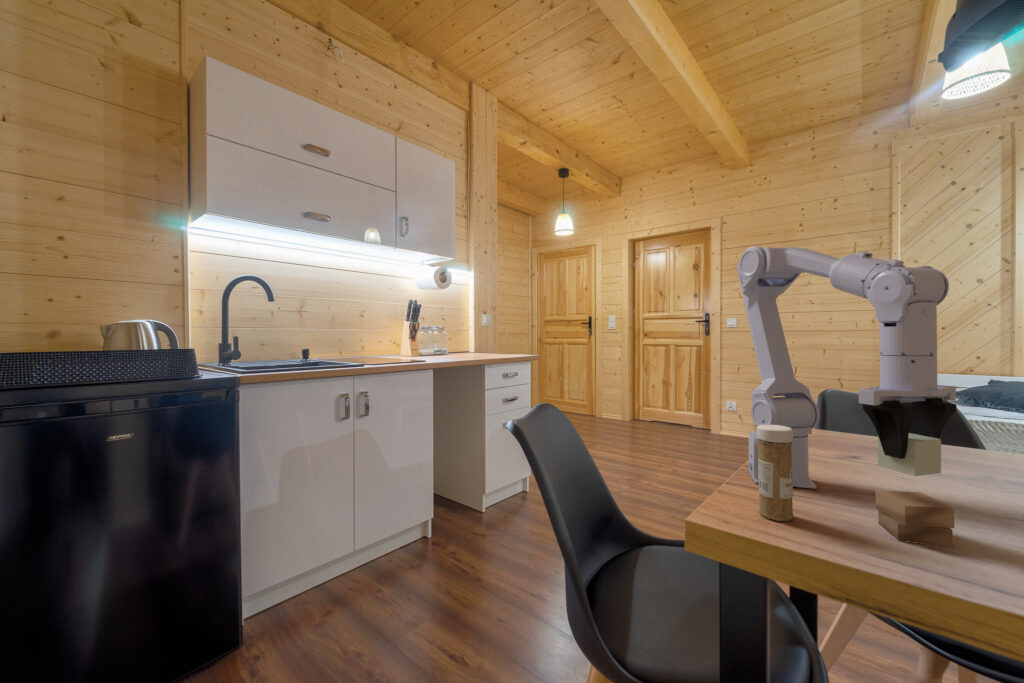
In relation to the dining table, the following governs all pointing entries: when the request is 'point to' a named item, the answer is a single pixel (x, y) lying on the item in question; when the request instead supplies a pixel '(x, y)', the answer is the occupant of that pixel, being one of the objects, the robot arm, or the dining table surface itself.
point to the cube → (915, 456)
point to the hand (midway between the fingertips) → (908, 455)
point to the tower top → (915, 509)
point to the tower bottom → (916, 532)
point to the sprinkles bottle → (775, 472)
